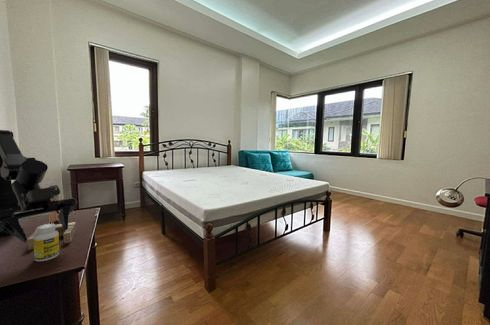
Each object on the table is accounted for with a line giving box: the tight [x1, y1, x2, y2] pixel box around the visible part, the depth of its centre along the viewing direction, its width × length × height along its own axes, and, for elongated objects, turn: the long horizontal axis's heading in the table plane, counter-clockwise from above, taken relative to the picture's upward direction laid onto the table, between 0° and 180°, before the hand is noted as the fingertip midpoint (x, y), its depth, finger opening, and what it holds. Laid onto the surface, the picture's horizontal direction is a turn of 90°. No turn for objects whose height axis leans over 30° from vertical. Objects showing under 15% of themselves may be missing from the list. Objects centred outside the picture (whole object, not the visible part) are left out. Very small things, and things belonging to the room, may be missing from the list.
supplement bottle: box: [33, 223, 60, 262], centre depth 61 cm, size 5×5×10 cm
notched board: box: [26, 221, 77, 251], centre depth 72 cm, size 10×10×4 cm
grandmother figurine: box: [47, 193, 61, 224], centre depth 87 cm, size 8×4×13 cm, turn 172°
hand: (47, 234), depth 60 cm, fingers open, 9 cm apart
